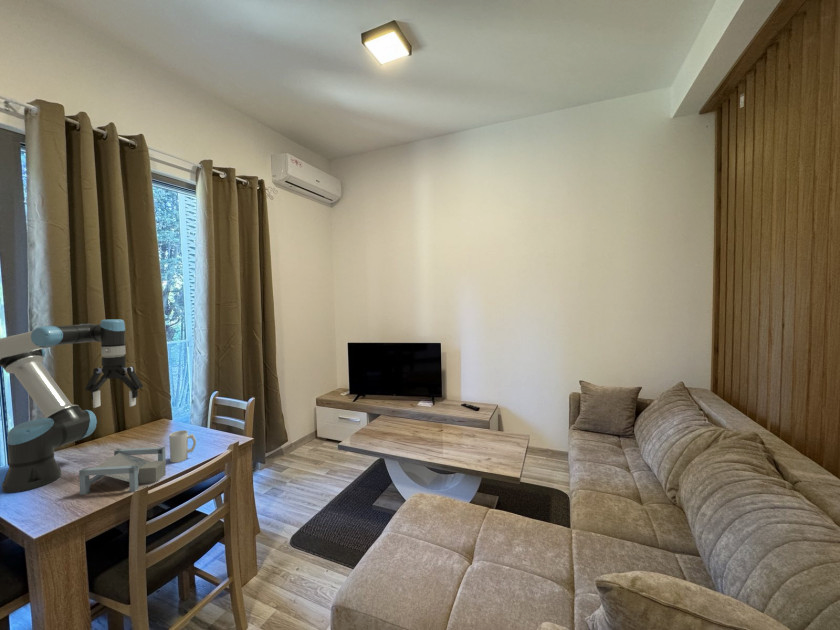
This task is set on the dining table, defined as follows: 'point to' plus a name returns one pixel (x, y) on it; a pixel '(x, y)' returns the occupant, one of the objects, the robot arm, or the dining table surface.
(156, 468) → the stone
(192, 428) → the dining table surface
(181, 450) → the mug
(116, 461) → the trapdoor
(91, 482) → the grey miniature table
